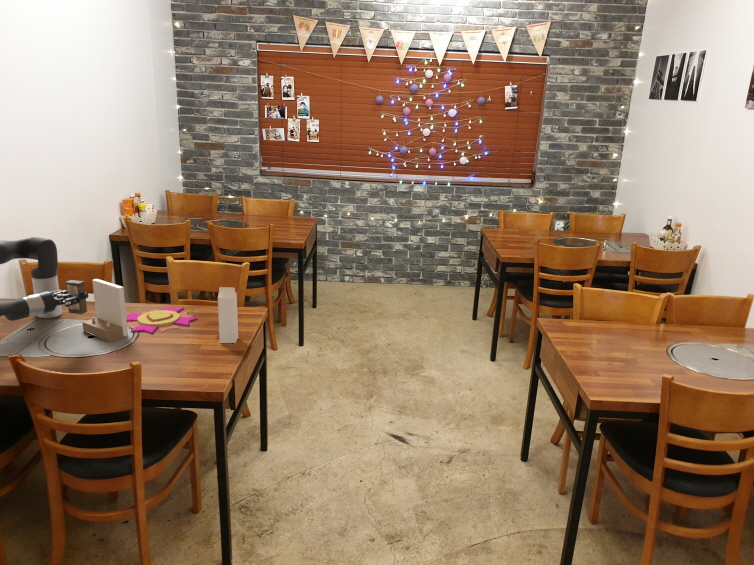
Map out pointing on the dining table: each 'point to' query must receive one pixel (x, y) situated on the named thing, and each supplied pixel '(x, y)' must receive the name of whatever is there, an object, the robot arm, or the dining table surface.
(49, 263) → the robot arm
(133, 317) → the wall ornament
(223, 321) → the milk
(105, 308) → the wall panel
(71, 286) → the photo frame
